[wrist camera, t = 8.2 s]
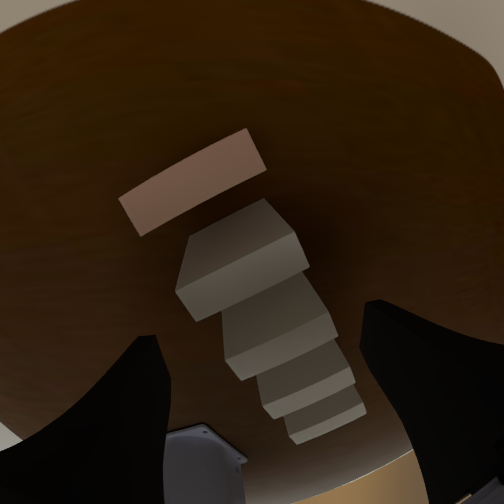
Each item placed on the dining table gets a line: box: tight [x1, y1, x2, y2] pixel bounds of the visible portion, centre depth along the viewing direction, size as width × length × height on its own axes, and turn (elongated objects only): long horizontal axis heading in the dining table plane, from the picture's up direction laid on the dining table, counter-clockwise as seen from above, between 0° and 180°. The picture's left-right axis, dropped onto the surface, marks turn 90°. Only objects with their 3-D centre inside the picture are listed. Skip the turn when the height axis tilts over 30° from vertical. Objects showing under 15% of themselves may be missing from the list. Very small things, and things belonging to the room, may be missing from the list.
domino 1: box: [118, 128, 267, 237], centre depth 13 cm, size 2×5×7 cm, turn 116°
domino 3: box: [222, 271, 338, 381], centre depth 16 cm, size 2×5×7 cm, turn 116°
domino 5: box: [284, 384, 367, 445], centre depth 18 cm, size 2×5×7 cm, turn 116°
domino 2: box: [175, 198, 310, 322], centre depth 14 cm, size 2×5×7 cm, turn 115°
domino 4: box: [256, 339, 356, 419], centre depth 17 cm, size 2×5×7 cm, turn 116°
